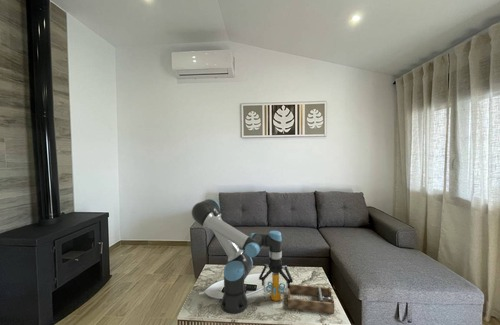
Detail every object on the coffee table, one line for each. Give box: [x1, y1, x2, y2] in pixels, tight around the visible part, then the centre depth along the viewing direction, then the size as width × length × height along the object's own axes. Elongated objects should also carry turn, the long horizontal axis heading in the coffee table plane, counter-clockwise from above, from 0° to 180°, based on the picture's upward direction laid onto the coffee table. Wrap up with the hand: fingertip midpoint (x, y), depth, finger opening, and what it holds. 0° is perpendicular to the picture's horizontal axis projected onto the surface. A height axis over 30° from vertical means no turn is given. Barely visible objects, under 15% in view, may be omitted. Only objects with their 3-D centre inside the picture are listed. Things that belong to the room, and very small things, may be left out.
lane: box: [287, 283, 335, 314], centre depth 136 cm, size 25×16×6 cm, turn 79°
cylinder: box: [265, 272, 286, 302], centre depth 139 cm, size 12×10×15 cm
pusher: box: [317, 286, 331, 302], centre depth 134 cm, size 8×13×6 cm, turn 169°
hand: (275, 292), depth 139 cm, fingers open, 13 cm apart
